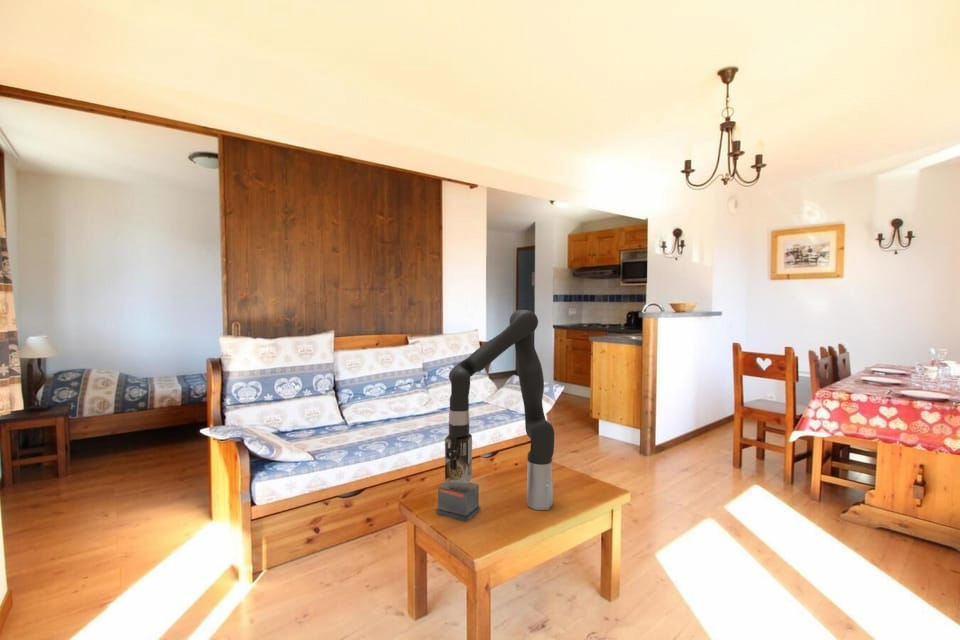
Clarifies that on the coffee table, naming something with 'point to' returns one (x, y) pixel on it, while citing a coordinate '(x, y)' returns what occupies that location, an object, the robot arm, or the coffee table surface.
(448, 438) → the coffee box
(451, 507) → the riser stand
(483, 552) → the coffee table surface
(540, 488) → the robot arm
